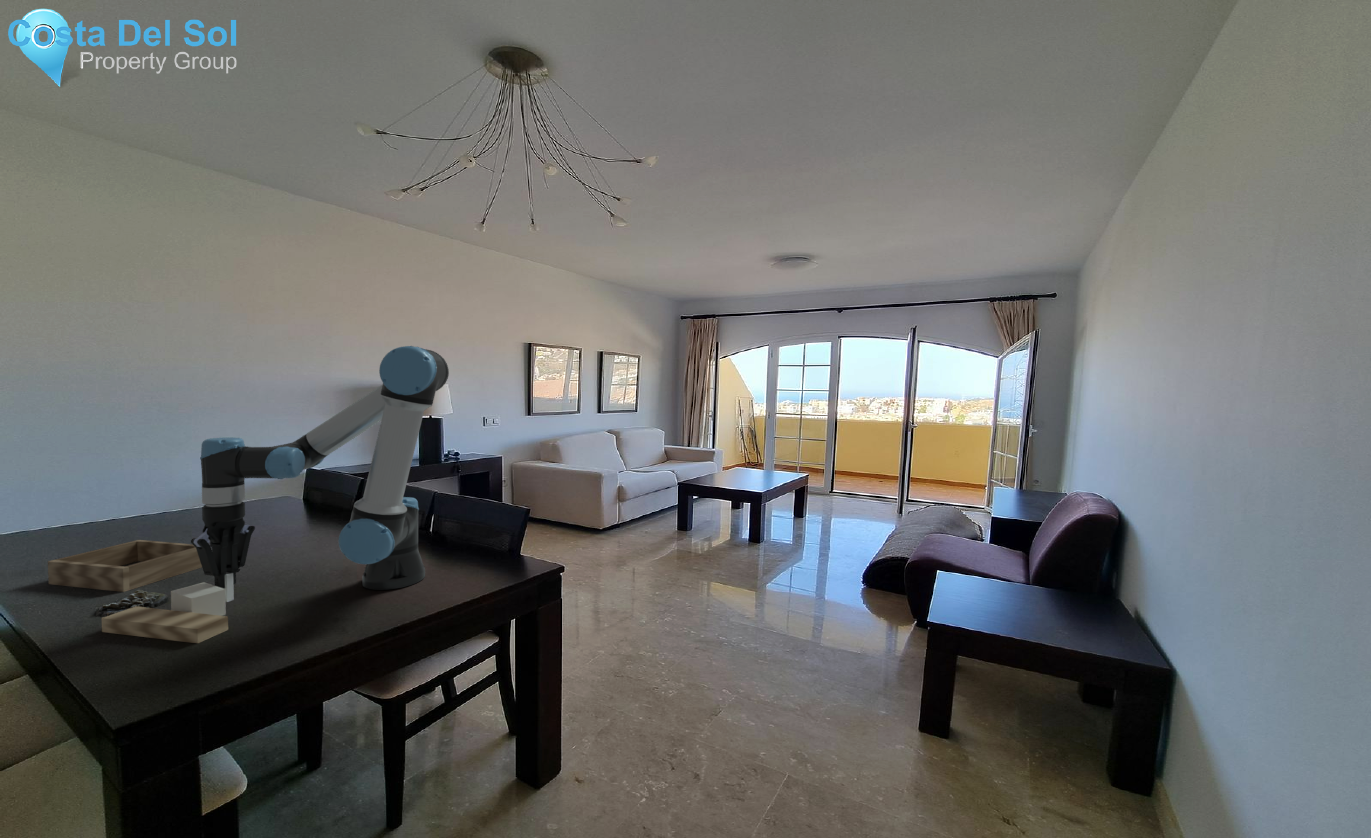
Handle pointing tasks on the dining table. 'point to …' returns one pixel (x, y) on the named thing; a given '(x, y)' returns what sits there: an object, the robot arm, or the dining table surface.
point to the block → (199, 599)
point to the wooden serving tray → (109, 573)
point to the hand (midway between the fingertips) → (225, 600)
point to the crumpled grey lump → (133, 602)
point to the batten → (165, 624)
